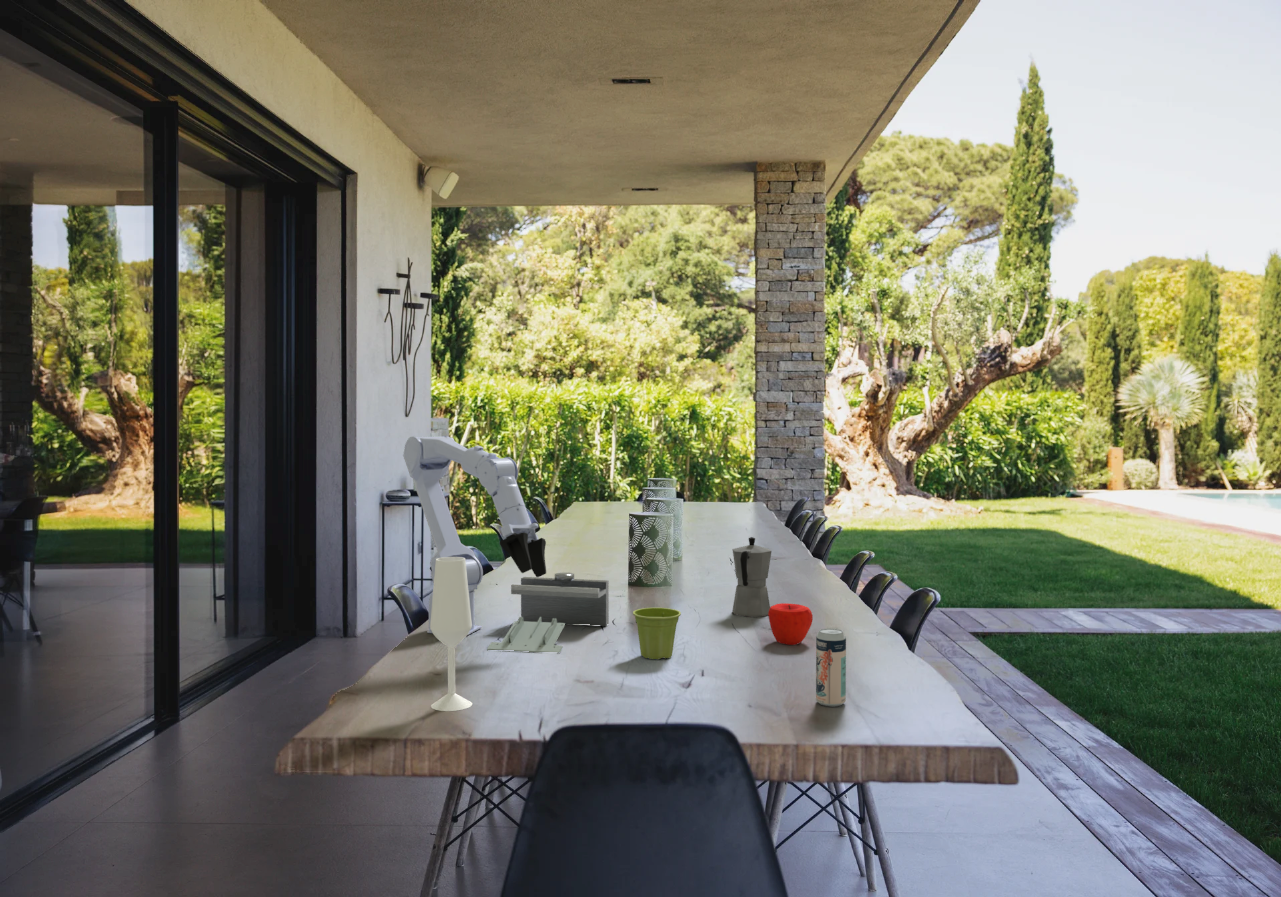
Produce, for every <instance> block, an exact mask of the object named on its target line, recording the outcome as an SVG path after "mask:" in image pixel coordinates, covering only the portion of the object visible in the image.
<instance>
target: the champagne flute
mask: <svg viewBox="0 0 1281 897" xmlns="http://www.w3.org/2000/svg"><path fill="white" fill-rule="evenodd" d="M432 588H433V590H432V592H433V599H432V611H431V622H430V629H431V631H432V633H431V634H433V636H434V637H435V638H436V639H437V640H439V642H441V644H443V645H444V646H446V647H447V694H445V695H443V696H442V697H441V698H439V699H438V700H436V701H435V702H434V703H432V704H431V705H430V707H431V709H432V710H436V711H441V712H455V711H462V710H467V709H469V708H471V707H472V706H473V702H471V701H470V700H468V699H466V698H464V696H461V695H459V694H457V693H456V646H457V645H460V644H461V642H462V641H463V640H464V639H465V638H466V637H467V636H468V633H469V632H470V630H471V628H472V620H471V611H470V601H469V591H468V581H467V571H466V561H465V558H463V557H442V558H437V559H436V563H435V575H434V583H433V587H432Z"/></svg>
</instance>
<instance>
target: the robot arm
mask: <svg viewBox="0 0 1281 897" xmlns="http://www.w3.org/2000/svg"><path fill="white" fill-rule="evenodd" d="M402 456H403V459H404V463H405V465H406V467H407V470H408V473H409V476H410V478H412V480H413V484H414V487H415V491H416V493H417V496H418V498H419V503H420V505H421V508H422V510H423V513H424V516H425V519H426V522H427V525H428V528H429V531H430V534H431V537H432V539H433V542H434V545H435V548H436V553H435V554H434V555H433V556H432V558H431V560H430V562H429V565H430V568H431V580H432V583H433V584H434V575H435V563H436V559H437V558H442V557H463V558H465V561H466V571H467V581H468V591H469V601H470V611H471V620H472V628H471V630H470V632H469V633H468V635H470V634H472V633H474V632H476V631H478V630H480V629H482V627H483V626H482V625H478V624H475V623H476V620H475V618H476V614H475V613H476V612H475V611H476V610H475V606H476V604H475V603H476V602H475V600H476V599H475V592H476V590H478V586H479V585H480V584H481V582H482V580H483V575H484V570H483V566H482V564H481V562H480V561H479V559H478V558H477V557H476V555H475V552H474V550H472V549H471V548H469V547H468V546H466V545H464V544H463V543H461V539H460V537H459V534H458V531H457V529H456V525H455V523H454V520H453V517H452V514H451V512H450V509H449V506H448V503H447V501H446V498H445V495H444V492H443V489H442V486H441V483H440V480H441V479H442V478H443V477H444V476H446V474H447V471H448V469H449V468H450V464H451V462H452V461H453V462H455V463H458V464H460V466H461V469H462V471H463V472H465V473H467V474H469V475H471V476H473V477H475V478H477V479H478V481H479V483H480V485H481V486H482V487H484V488H485V489H486V491H487V494H488V495H489V496H490V497H491V498H492V501H493V504H494V507H495V510H496V513H497V515H498V517H499V521H500V524H501V526H502V527H500V531H501V534H502V537H504V538H505V539H502V540H501V541H500V542H499V545H500V546H501V548H502V549H504V550H505V552H507V553H508V555H509V556H510V557H511V559H512V560H513V562H514V564H515V565H516V567H517V568H518V570H519V572H520V573H521V574H524V573H526V572H528V571H532V572H533V574H534V575H535V577H537V578H541V576H544V575H547V566H546V556H545V554H546V553H545V552H546V551H545V550H546V544H547V542H546V539H545V538H544V537H543V538H542V537H541V538H539V535H538V534H537V533H536V529H538V528H539V527H540V526H539V523H536V522H533V523H532V521H531V518H530V515H529V514H528V513H529V512H528V510H527V508H526V504H525V502H524V499H523V496H522V494H521V491H520V488H519V485H518V482H517V480H518V476H519V468H518V465H517V463H516V461H515V460H514V459H513V458H511V457H510V456H506V457H503V458H499V456H497V454H496V453H494V452H490V453H489V452H487V451H485V450H484V447H483V446H482V445H475V446H472V447H469V448H467V447H465V446H464V445H461V444H460V443H458V442H456V441H455V439H454V437H450V436H449V435H442V436H441V435H440V436H415V435H413V436H410V437H408V438H407V440H406V441H405V444H404V448H403V454H402ZM432 599H433V591H432V592H431V593H430V595H429V598H428V600H429V601H428V630H427V633H428V634H433V633H432V631H431V629H430V622H431V611H432ZM468 635H467V636H468Z"/></svg>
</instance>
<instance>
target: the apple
mask: <svg viewBox="0 0 1281 897" xmlns="http://www.w3.org/2000/svg"><path fill="white" fill-rule="evenodd" d="M767 616H768V620H769V624H770V629H771V632H772V636H773V637H774V638H775V640H776V642H777V643H780V644H781V645H789V646H790V645H791V646H795V645H798V644H801V643H802V642H803V641H804V640H805V639H806V636H807V635H808V632H809V631H810V629H811V627H812V624H813V618H814V617H813V612H812V610H811V609H810V608H809V607H808V606H806V605H803V604H798V603H784V602H783V603H782V602H781V603H776V604H773V605H772V606H771V605H770V609H769V613H768V615H767Z"/></svg>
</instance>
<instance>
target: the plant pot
mask: <svg viewBox="0 0 1281 897" xmlns="http://www.w3.org/2000/svg"><path fill="white" fill-rule="evenodd" d="M632 614H633V616H634V618H635V622H636V626H637V633H638V634H637V635H638V641H639V642H638V643H639V649H640V656H641V657H643V658H645V659H647V658H649V659H648V660H654V659H657V660H661V659H663V658H664V659H666V658H667V659H670V658H672V657H673V652H674V645H675V644H674V643H675V636H676V630H677V626H678V625H677V624H678V623H679V617H681V615H682V612H681V611H680V610H679V609H673V608H668V607H644V608H638V609H635V610H633V611H632Z"/></svg>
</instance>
